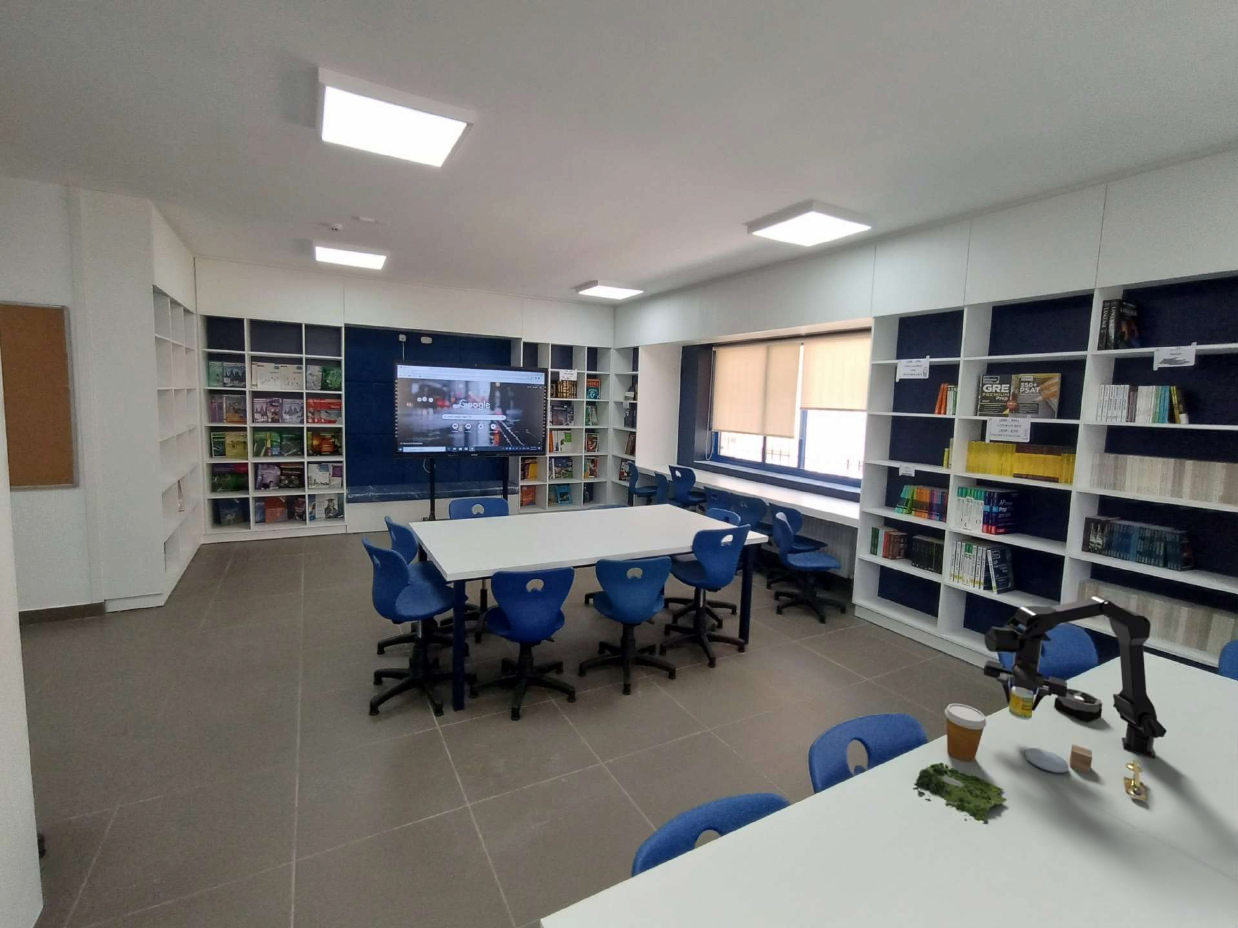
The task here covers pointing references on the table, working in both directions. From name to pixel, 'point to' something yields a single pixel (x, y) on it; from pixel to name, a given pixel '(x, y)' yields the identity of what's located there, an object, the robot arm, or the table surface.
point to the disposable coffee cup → (964, 731)
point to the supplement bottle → (1021, 703)
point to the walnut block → (1081, 758)
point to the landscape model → (959, 790)
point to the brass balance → (1134, 782)
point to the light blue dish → (1046, 760)
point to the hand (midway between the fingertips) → (1020, 706)
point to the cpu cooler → (1079, 705)
